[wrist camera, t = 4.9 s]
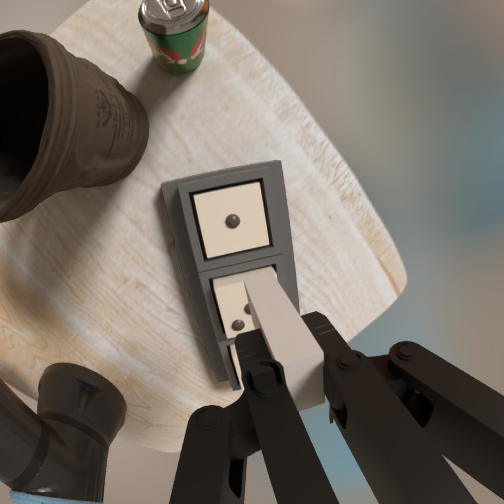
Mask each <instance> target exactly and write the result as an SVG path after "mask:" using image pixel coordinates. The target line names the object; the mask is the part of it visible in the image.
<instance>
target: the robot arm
mask: <svg viewBox="0 0 504 504" xmlns="http://www.w3.org/2000/svg"><path fill="white" fill-rule="evenodd" d="M243 281H244V286H245V290H246V295H247V299H248V303H249V308H250V312H251V317H252V321H253V325H254V327H255V330H251V331H247V332H244V333H240V334H237V336H236V339H235V341H234V345H235V349H236V353H237V357H238V361H239V365H240V369H241V380H242V383H243V386H244V392H243V394H242V395H241V397H240V398H239V399H238V400H237V401H235V402H234V403H232V404H231V405H229V406H227V407H225V408H222V407H220V406H216V405H209V406H203V407H201V408H199V409H197V410H196V411H195V412H194V413H193V414H192V415H191V417H190V419H189V421H188V425H187V429H186V433H185V437H184V441H183V445H182V450H181V454H180V459H179V462H178V467H177V471H176V475H175V480H174V484H173V488H172V493H171V498H170V502H169V504H244V495H245V481H246V466H247V457H248V456H250V455H252V454H253V453H255V452H257V451H259V450H262V454H263V457H264V461H265V464H266V468H267V471H268V474H269V478H270V481H271V484H272V487H273V491H274V494H275V497H276V500H277V503H278V504H339V502H338V500H337V498H336V496H335V493H334V491H333V489H332V487H331V485H330V482H329V480H328V478H327V476H326V473H325V471H324V469H323V467H322V465H321V462H320V460H319V458H318V456H317V453H316V451H315V449H314V447H313V444H312V442H311V440H310V438H309V435H308V433H307V431H306V428H305V426H304V424H303V422H302V419H301V417H300V415H299V411H302V410H305V409H308V408H311V407H314V406H317V405H319V404H322V403H325V395H326V397H327V399H328V401H329V403H330V410H329V411H330V412H329V418H330V419H329V420H330V423H333V418H334V420H335V422H336V424H337V426H338V428H339V430H340V431H341V433H342V435H343V437H344V439H345V441H346V443H347V445H348V446H349V448H350V450H351V452H352V454H353V456H354V458H355V459H356V461H357V463H358V465H359V467H360V469H361V471H362V473H363V475H364V476H365V478H366V480H367V482H368V484H369V486H370V488H371V490H372V491H373V493H374V495H375V497H376V499H377V501H378V502H379V504H478V503H477V502H476V501H475V500H474V498H473V497H472V496H471V494H470V493H469V491H468V490H467V489H466V487H465V486H464V485H463V483H462V482H461V480H460V479H459V478H458V476H457V475H456V473H455V472H454V471H453V469H452V468H451V466H450V465H449V464H448V462H447V461H446V460H445V458H444V457H443V456H442V455H444V456H445V457H446V458H447V459H449V460H450V461H451V462H453V463H454V464H455V465H457V466H458V467H459V468H461V469H462V470H463V471H465V472H466V473H467V474H469V475H470V476H471V477H473V478H474V479H475V480H477V481H478V482H479V483H481V484H482V485H484V486H485V487H486V488H488V489H489V490H491V491H492V492H493V493H495V494H496V495H497V496H499V497H500V498H502V499H503V500H504V396H503V395H502V394H500V393H498V392H497V391H495V390H493V389H491V388H490V387H488V386H487V385H485V384H483V383H482V382H480V381H479V380H477V379H475V378H474V377H472V376H470V375H469V374H467V373H465V372H464V371H462V370H460V369H459V368H457V367H455V366H454V365H452V364H450V363H449V362H447V361H446V360H444V359H442V358H441V357H439V356H437V355H435V354H434V353H432V352H430V351H429V350H427V349H426V348H424V347H422V346H421V345H419V344H417V343H414V342H411V341H402V342H398V343H396V344H394V345H393V346H392V347H391V348H390V351H389V354H387V355H381V356H374V357H367V356H365V355H364V354H362V353H361V352H359V351H356V350H352V349H351V348H350V347H349V346H348V344H347V343H346V342H345V340H344V339H343V338H342V337H341V335H340V334H339V333H338V331H337V330H335V328H334V326H333V325H332V324H331V322H330V321H329V320H328V319H327V317H326V316H325V315H323V314H321V313H319V312H317V311H315V312H312V313H308V314H305V315H302V316H300V315H299V313H298V312H297V310H296V309H295V307H294V306H293V304H292V303H291V301H290V299H289V298H288V296H287V295H286V293H285V292H284V290H283V289H282V287H281V286H280V284H279V282H278V281H277V279H276V278H275V276H274V275H273V273H272V272H271V273H267V274H263V275H259V276H255V277H251V278H247V279H243ZM38 392H39V397H38V407H37V414H36V413H34V412H33V411H32V410H31V409H30V408H29V407H28V406H27V405H26V404H25V403H24V402H23V401H22V400H21V399H20V398H19V397H18V396H17V395H16V394H15V393H14V392H13V391H12V390H11V389H10V388H9V387H8V386H7V385H6V384H5V382H4V381H3V380H2V379H1V378H0V481H2V482H3V483H4V484H6V485H7V486H9V487H10V488H11V489H12V490H11V491H10V497H11V499H12V501H13V502H14V503H16V504H103V497H104V485H105V475H106V466H107V457H108V451H109V446H110V444H111V443H112V441H113V439H114V438H115V436H116V434H117V433H118V431H119V430H120V429H121V427H122V426H123V424H124V421H125V416H126V410H127V408H126V403H125V400H124V398H123V396H122V395H121V393H120V392H119V391H118V389H117V388H116V387H115V386H114V385H113V384H112V383H110V382H109V381H108V380H107V379H105V378H104V377H102V376H101V375H99V374H98V373H96V372H94V371H92V370H90V369H88V368H85V367H82V366H79V365H76V364H71V363H56V364H52V365H50V366H48V367H47V368H46V369H45V371H44V373H43V374H42V376H41V379H40V381H39V385H38Z"/></svg>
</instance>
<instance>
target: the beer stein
mask: <svg viewBox="0 0 504 504" xmlns="http://www.w3.org/2000/svg"><path fill="white" fill-rule="evenodd" d="M148 137H149V123H148V118H147V115H146V112H145V110H144V108H143V105H142V104H141V102H140V101H139V100H138V99H137V98H136V96H134V95H133V94H132V93H130V92H129V91H127V90H126V89H125V88H124V87H123V86H122V85H121V84H119V82H118V81H117V80H116V79H115V78H113V77H111V76H109V75H107V74H106V73H105V72H103V71H102V70H101V69H100V68H99V67H98V66H96V65H95V64H93V63H91V62H90V61H88V60H86V59H83V58H79V57H75V56H74V55H73V54H71V53H70V52H68V51H67V50H66V49H65V48H64V46H63V45H62V44H60V43H59V42H58V41H57V40H56V39H54V38H52V37H50V36H48V35H46V34H42V33H34V32H30V31H25V30H13V31H9V32H5V33H2V34H0V223H3V222H6V221H10V220H14V219H16V218H19V217H20V216H22V215H24V214H26V213H27V212H29V211H31V210H33V209H34V208H35V207H36V206H37V205H38V204H39V203H40V202H42V201H43V200H45V199H46V198H48V197H49V196H51V195H52V194H54V193H56V192H60V191H66V190H70V189H73V188H77V187H84V188H90V187H96V186H103V185H108V184H112V183H114V182H116V181H118V180H120V179H122V178H123V177H125V176H126V175H128V174H129V173H130V172H131V171H132V170H133V169H134V168H135V166H136V165H137V164H138V162H139V161H140V160H141V158H142V155H143V153H144V151H145V149H146V146H147V141H148Z"/></svg>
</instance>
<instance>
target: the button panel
mask: <svg viewBox="0 0 504 504" xmlns="http://www.w3.org/2000/svg"><path fill="white" fill-rule="evenodd" d="M252 180H255V181H257V182H259V183H260V188H261V195H262V201H263V207H264V213H265V220H266V226H267V233H268V239H269V245H265V246H260V247H256V248H251V249H247V250H242V251H238V252H233V253H229V254H224V255H220V256H215V257H211V258H207V254H206V249H205V245H204V241H203V236H202V232H201V228H200V223H199V219H198V214H197V209H196V205H195V200H194V192H198V191H202V190H207V189H212V188H216V187H221V186H226V185H231V184H236V183H241V182H247V181H252ZM161 187H162V192H163V196H164V200H165V205H166V209H167V213H168V217H169V222H170V226H171V230H172V234H173V238H174V241H175V245H176V249H177V253H178V257H179V260H180V264H181V268H182V271H183V275H184V278H185V282H186V285H187V289H188V292H189V295H190V299H191V302H192V305H193V309H194V312H195V315H196V318H197V322H198V325H199V328H200V331H201V334H202V337H203V340H204V343H205V346H206V349H207V352H208V355H209V358H210V361H211V364H212V367H213V369H214V372H215V375H216V378H217V381H218V382H221V381H226V380H230V383H231V386H232V389H233V391H235V390H240V389H242V388H241V385H240V381H239V378H238V374H237V371H236V367H235V364H234V360H233V357H232V352H231V347H230V345H233V344H234V341H235V339H236V337H233V338H228V339H227V335H226V332H225V328H224V324H223V320H222V317H221V313H220V309H219V305H218V301H217V297H216V293H215V290H214V283H213V278H214V277H219V276H223V275H228V274H232V273H236V272H241V271H245V270H250V269H254V268H258V267H263V266H267V265H271V266H272V268H273V269H274V271H275V272H276V274H277V279H278V282H279V284H280V286H281V287H282V289H283V290H284V292H285V293H286V295H287V296H288V298H289V299H290V301H291V303H292V304H293V306H294V307H295V309H296V310H297V312H298V313H299V315H300V309H299V298H298V289H297V279H296V270H295V261H294V253H293V244H292V236H291V228H290V221H289V213H288V206H287V198H286V191H285V184H284V177H283V171H282V164H281V161H280V160H273V161H266V162H260V163H254V164H249V165H243V166H237V167H232V168H227V169H222V170H217V171H212V172H207V173H202V174H198V175H193V176H188V177H184V178H180V179H175V180H171V181H167V182H163V183H162V184H161Z"/></svg>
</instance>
